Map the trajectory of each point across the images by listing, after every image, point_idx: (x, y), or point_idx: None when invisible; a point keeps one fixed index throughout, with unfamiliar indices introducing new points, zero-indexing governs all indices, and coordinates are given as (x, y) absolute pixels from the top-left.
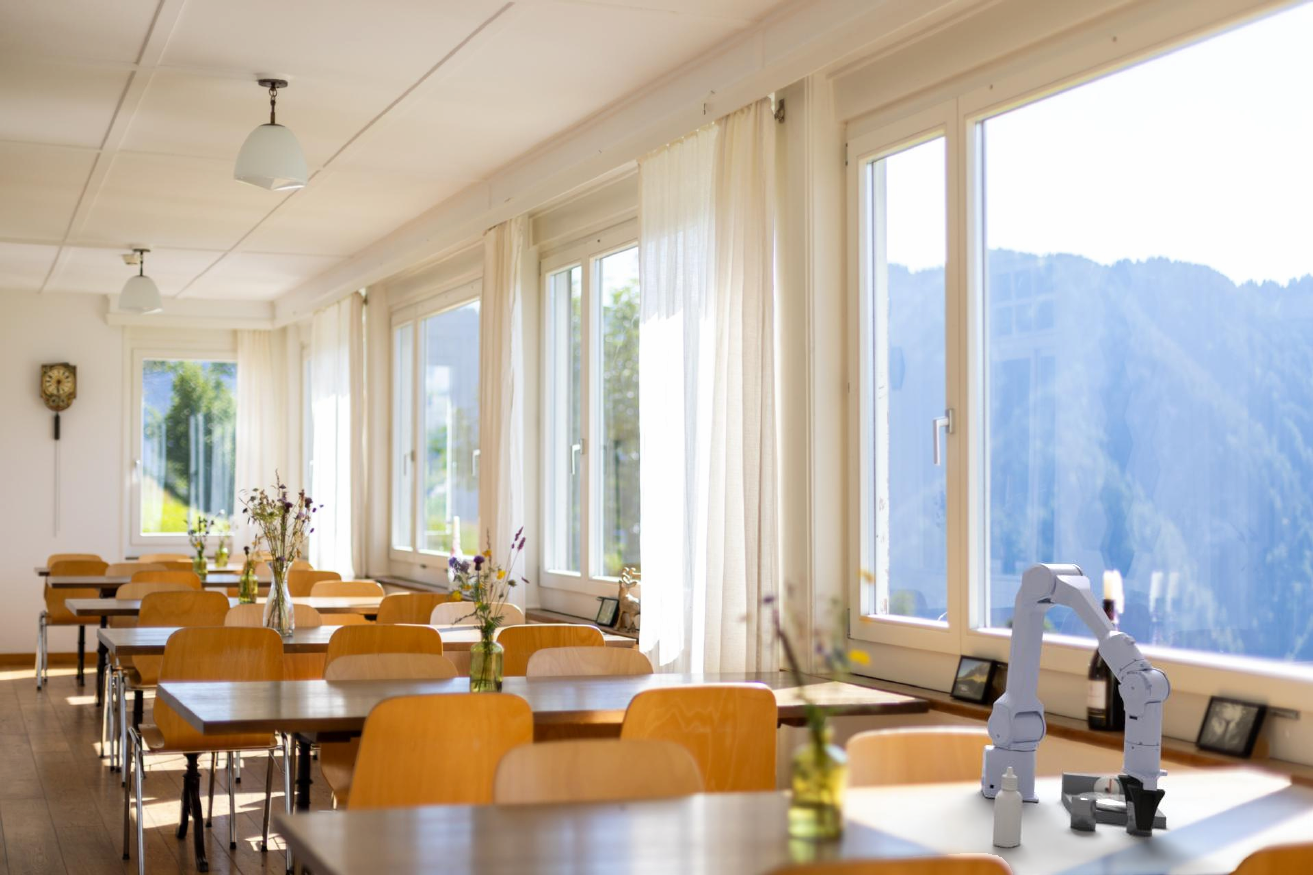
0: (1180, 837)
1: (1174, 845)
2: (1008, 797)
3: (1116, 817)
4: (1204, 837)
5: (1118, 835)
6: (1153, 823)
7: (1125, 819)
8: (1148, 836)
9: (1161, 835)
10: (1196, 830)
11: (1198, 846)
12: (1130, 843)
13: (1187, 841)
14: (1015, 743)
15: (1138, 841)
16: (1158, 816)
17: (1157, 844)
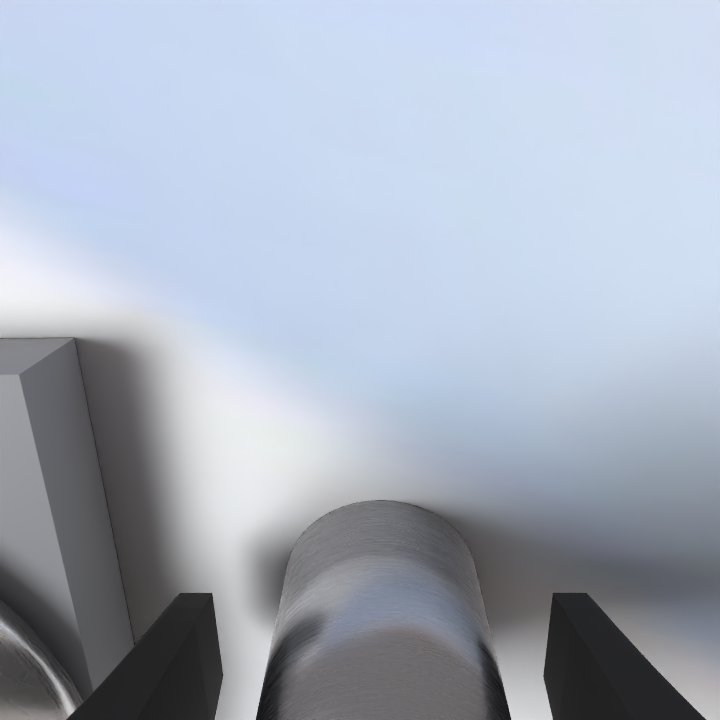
0: (395, 277)
1: (710, 393)
2: None
3: None
4: (294, 6)
5: None
6: (80, 451)
7: (116, 653)
8: (458, 534)
9: (385, 430)
10: (2, 28)
11: (705, 174)
12: (713, 682)
13: (532, 242)
14: None
15: (642, 626)
16: (37, 448)
17: (704, 517)
